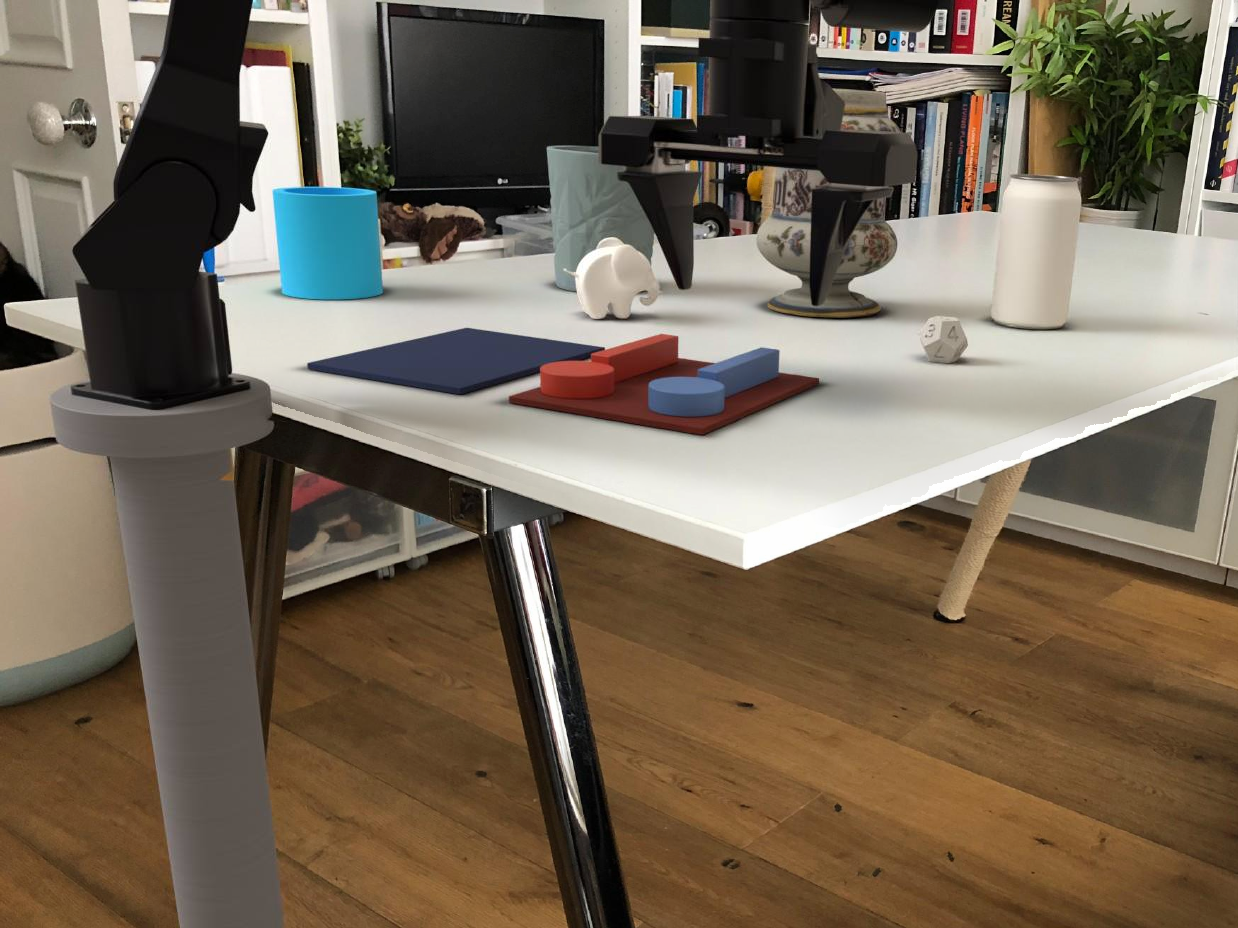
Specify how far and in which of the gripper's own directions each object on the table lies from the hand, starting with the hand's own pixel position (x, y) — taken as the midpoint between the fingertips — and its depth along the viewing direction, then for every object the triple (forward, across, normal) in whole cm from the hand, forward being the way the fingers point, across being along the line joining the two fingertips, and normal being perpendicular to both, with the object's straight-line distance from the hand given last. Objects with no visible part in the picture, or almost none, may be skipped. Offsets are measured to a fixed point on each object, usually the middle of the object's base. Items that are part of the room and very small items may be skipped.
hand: (749, 297), depth 81 cm
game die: (+6, -7, -18) cm, 20 cm away
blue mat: (+6, +19, +4) cm, 21 cm away
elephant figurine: (+6, +21, -18) cm, 28 cm away
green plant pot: (+6, +30, -30) cm, 43 cm away
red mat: (+6, +3, +4) cm, 8 cm away
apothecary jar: (+6, +9, -32) cm, 34 cm away
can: (+6, -8, -38) cm, 39 cm away
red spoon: (+6, +7, +4) cm, 10 cm away
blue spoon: (+6, 0, +4) cm, 7 cm away
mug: (+6, +47, -14) cm, 49 cm away
